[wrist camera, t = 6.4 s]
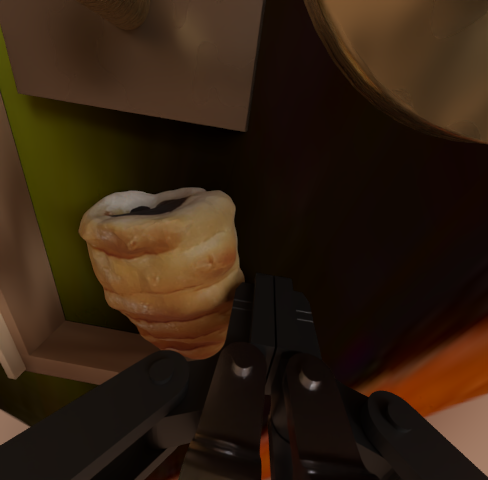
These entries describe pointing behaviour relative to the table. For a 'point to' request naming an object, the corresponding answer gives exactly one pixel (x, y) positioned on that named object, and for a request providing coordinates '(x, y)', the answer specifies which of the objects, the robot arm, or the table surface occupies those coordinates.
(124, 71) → the balance
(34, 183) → the table surface
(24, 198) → the rail
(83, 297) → the table surface
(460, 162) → the table surface
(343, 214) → the table surface
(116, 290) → the pastry
